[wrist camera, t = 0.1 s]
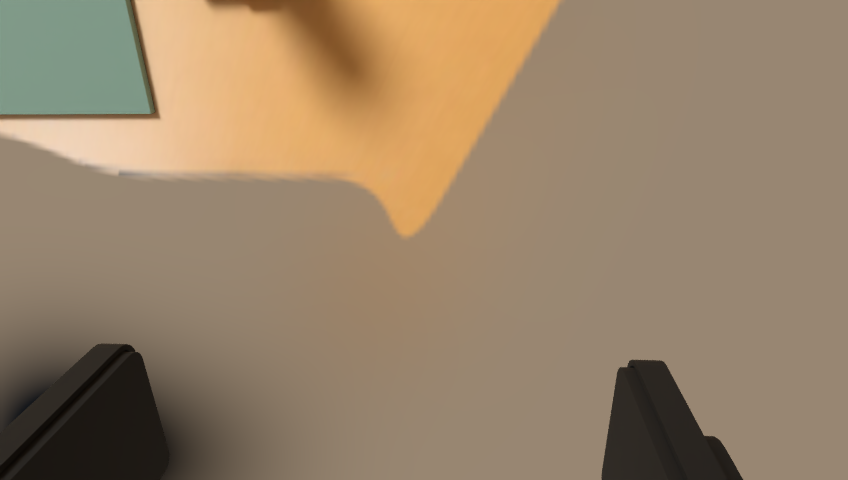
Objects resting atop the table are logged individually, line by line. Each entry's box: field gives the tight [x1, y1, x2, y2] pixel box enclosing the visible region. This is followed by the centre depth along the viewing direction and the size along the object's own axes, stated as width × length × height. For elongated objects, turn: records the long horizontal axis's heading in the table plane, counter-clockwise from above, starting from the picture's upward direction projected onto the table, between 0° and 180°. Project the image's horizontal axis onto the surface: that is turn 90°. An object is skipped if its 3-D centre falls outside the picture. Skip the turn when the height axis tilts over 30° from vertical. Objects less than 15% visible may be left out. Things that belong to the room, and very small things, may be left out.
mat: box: [0, 0, 155, 114], centre depth 38 cm, size 14×14×1 cm
